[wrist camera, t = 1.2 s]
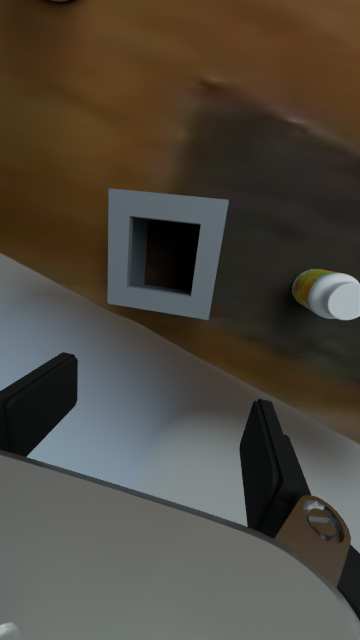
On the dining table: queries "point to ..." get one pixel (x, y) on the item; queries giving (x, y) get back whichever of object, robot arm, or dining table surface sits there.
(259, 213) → the dining table surface
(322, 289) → the supplement bottle
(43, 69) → the dining table surface
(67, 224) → the dining table surface
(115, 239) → the box
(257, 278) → the dining table surface
